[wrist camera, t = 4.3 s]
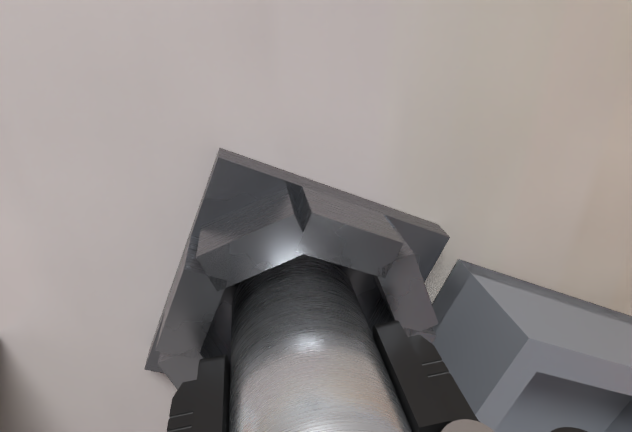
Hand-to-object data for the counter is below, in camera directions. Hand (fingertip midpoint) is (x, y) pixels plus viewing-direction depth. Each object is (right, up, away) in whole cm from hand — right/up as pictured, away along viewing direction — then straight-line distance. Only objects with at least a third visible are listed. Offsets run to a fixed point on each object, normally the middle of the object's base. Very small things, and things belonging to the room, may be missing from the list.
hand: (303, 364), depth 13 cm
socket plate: (0, +2, +3) cm, 4 cm away
